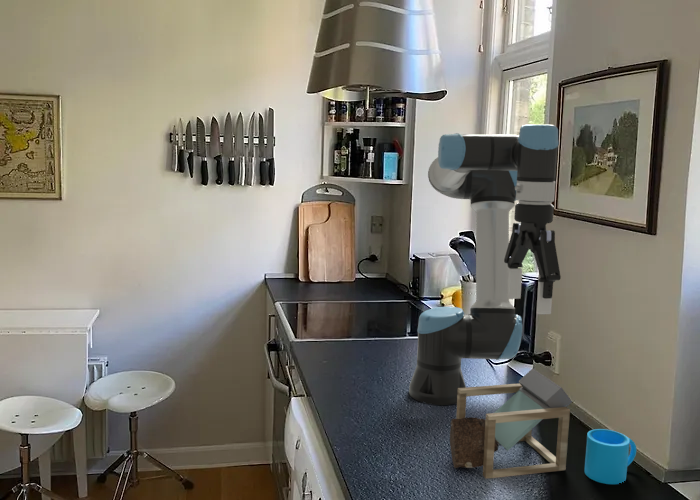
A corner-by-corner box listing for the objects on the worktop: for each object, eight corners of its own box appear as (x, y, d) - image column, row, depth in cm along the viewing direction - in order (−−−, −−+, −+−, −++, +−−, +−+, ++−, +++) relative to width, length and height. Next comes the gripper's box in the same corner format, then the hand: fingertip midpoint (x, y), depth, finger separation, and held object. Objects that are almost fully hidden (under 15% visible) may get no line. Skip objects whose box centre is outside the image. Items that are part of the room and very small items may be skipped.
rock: (453, 403, 142) (444, 445, 135) (503, 413, 139) (497, 456, 133) (450, 435, 151) (442, 476, 144) (498, 444, 148) (492, 487, 141)
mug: (604, 487, 136) (607, 448, 135) (575, 469, 144) (578, 432, 142) (649, 476, 141) (652, 439, 140) (619, 459, 149) (622, 423, 147)
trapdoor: (487, 432, 153) (476, 419, 152) (543, 381, 155) (532, 368, 153) (512, 456, 142) (500, 442, 141) (572, 401, 143) (561, 387, 142)
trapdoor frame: (455, 444, 154) (457, 388, 152) (527, 437, 158) (531, 382, 156) (485, 478, 139) (489, 416, 137) (565, 470, 143) (570, 409, 141)
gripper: (492, 197, 149) (487, 293, 153) (546, 208, 125) (539, 321, 128) (524, 197, 151) (518, 292, 154) (584, 208, 127) (576, 320, 130)
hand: (528, 305), depth 141 cm, fingers open, 13 cm apart
